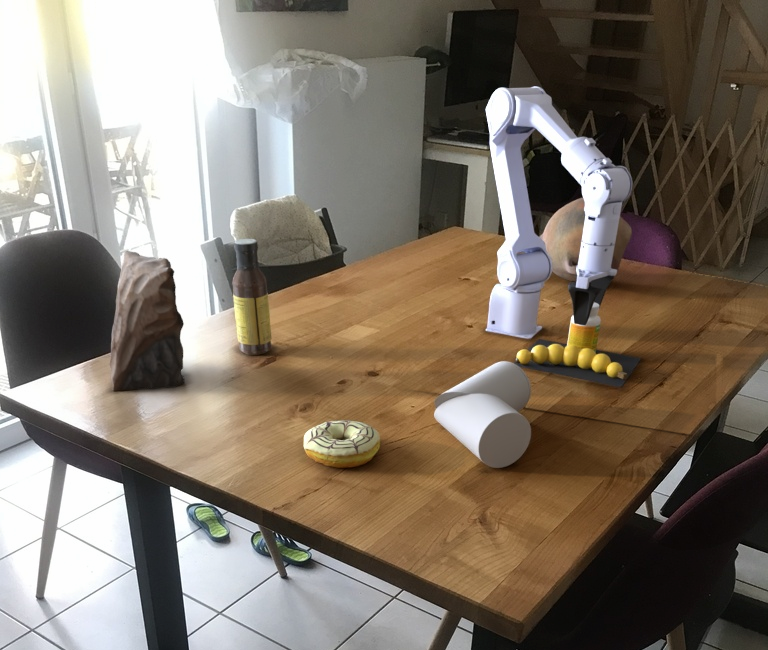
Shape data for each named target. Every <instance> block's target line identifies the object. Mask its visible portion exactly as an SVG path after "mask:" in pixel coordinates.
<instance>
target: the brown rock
mask: <svg viewBox="0 0 768 650" xmlns="http://www.w3.org/2000/svg"><path fill="white" fill-rule="evenodd" d="M174 275H175V270H174V269H173V268H172V264H171V262H170V261H169V259H168V258H166V257H159V258H157V257H153V256H146V255H145V256H144V255H141V254H140V253H138V252H136V251H131V250H125V252H124V254H123V262H122V264H121V268H120V273H119V279H118V282H117V290H116V291H117V292H116V299H115V313H114V318H113V324H112V328H111V343H110V360H109V368H110V381H111V385H112V391H113V392H117V391H129V390H142V389H149V390H151V389H157V388H158V389H159V388H176V387H178V386H182V385H184V384H185V380H186V379H185V376H184V375H183V374H182V370H183V369H184V347H183V343H182V341H181V333H182V330H183V327H184V324H185V323H184V320H183V317H182V315H181V313H180V312H179V310H178V306H177V296H176V290H177V289H176V288H177V287H176V282H175V278H174Z"/></svg>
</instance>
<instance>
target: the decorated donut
mask: <svg viewBox="0 0 768 650" xmlns="http://www.w3.org/2000/svg"><path fill="white" fill-rule="evenodd" d="M380 439H381V438H380V432H379V431H377V429H376V428H374V427H373V426H371V425H369V424H367V423H366V422H363V421H356V420H355V421H353V420H346V419H345V420H343V419H342V420H330V421H325V422H323V423H321V424H318V425H315V426H313V427H312V428H310V429H309V430H307V431H306V432H305V434H304V435H303V449H304V452H305V454H306V456H307V457H308V458H310V459H312V460H314V461H315V463H319V464H323V465H324V466H326V467H327V466H328V467H331V468H338V469H343V468H356V467H359V466H363V465H365V464H367V463H368V462H370V461H371V460H372V459H373V458H374V456H375V455H376V454H377V453H378V451H379V449H380V446H381V445H380V444H381V440H380Z"/></svg>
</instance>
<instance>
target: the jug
mask: <svg viewBox="0 0 768 650" xmlns="http://www.w3.org/2000/svg"><path fill="white" fill-rule="evenodd" d="M584 208H585V201H584V198H583V197H580V198H577V199H575V200H572V201H570V202H568V203H567V204H565V205H564V206H562V207H561V208H559V209H558V210H557V211H556V212H554V214H552V216H551V217H550V219H549V220H548V222H547V223H546V225H545V227H544V230H543V232H542V234H540V235H539V236H538V237H539V238H541V239H542V240H543V241H544V242H545V245H546V250H547V252H548V254H549V256H550V258H551V261H552V273H553V274H555V276H557V277H559V278H561V279H564V280H567V281H569V282H575V283H576V282H577V272H576V267H577V265H578V262H579V255H580V249H581V242H582V236H583V229H584V223H585V216H586V214H585V211H584ZM632 231H633V230H632V227H631V225H630V224H629V223H628V222H627V221H626V220H625V219H624V218H623V217H622V216H621V215H620V218H619V224H618V230H617V235H616V241H615V247H614V252H613V258H612V264H611V268H612V269H616V270H617V272H618V271H619V268H620V265H621V262H622V259H623V256H624V253H625V251H626V249H627V246H628V244H629V242H630V241H631V238H632V233H633V232H632ZM505 241H506V238H505V239H504V242H505ZM522 253H526V252H518V253H517V254H522Z"/></svg>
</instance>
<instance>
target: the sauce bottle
mask: <svg viewBox="0 0 768 650" xmlns="http://www.w3.org/2000/svg"><path fill="white" fill-rule="evenodd" d="M233 247H234V251H235V256H236V266H237V267H236V271H235V273H234V275H233V277H232V295H233V307H234V317H235V326H236V334H237V341H238V349H239V351H240V352H242V353H243V354H245V355H250V356H254V355H255V356H256V355H263V354H266V353H268V352H269V351H271V349H272V328H271V327H272V326H271V315H270V314H271V313H270V303H269V301H270V300H269V292H268V286H267V285H268V283H267V278H266V276H265V274H264V273H263V271H262V270H261V269H260V263H259V256H258V250H259V245H258V241H257V240H256V239H254V238H239V239H236V240H234V242H233Z"/></svg>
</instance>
